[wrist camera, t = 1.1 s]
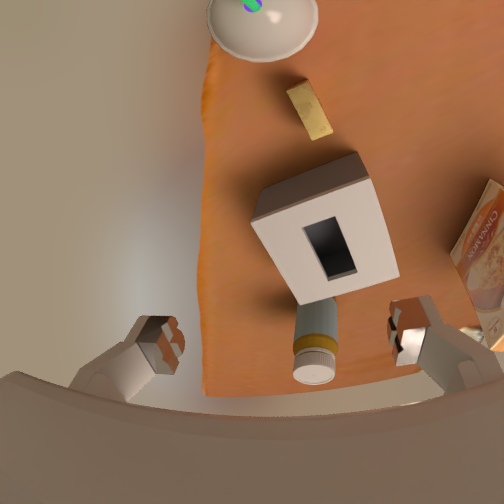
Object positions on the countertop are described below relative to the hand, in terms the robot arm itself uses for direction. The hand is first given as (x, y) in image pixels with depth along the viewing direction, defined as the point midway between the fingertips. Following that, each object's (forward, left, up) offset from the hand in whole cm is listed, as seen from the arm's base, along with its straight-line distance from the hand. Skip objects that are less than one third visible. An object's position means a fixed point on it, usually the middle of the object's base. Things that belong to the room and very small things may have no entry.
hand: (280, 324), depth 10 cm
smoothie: (-3, -13, -30) cm, 33 cm away
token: (-2, -3, -30) cm, 30 cm away
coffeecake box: (-22, +23, -30) cm, 44 cm away
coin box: (+2, +12, -30) cm, 32 cm away
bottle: (+10, +28, -30) cm, 42 cm away
